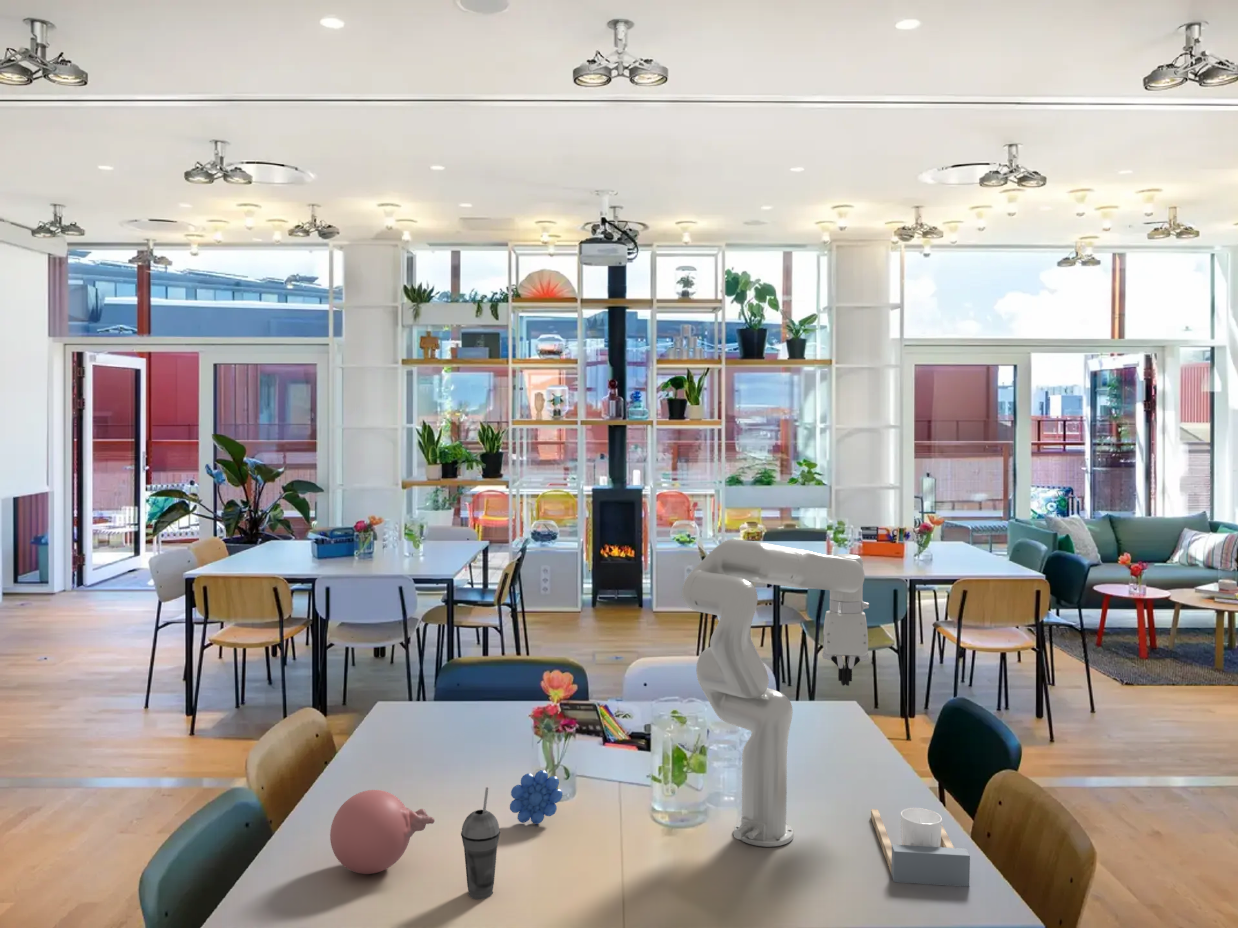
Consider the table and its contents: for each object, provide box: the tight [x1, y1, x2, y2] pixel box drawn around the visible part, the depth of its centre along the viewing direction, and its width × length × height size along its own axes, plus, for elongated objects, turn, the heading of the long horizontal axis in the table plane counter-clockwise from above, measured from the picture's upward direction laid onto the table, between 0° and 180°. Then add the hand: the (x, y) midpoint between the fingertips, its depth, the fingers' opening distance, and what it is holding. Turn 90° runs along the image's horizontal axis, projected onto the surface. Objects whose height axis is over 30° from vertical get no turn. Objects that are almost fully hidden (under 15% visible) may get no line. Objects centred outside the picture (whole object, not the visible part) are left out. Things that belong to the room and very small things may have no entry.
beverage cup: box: [460, 787, 501, 900], centre depth 174 cm, size 7×7×20 cm
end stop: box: [890, 843, 971, 887], centre depth 180 cm, size 3×14×6 cm, turn 83°
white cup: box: [900, 807, 943, 847], centre depth 186 cm, size 8×8×10 cm
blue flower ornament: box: [509, 769, 564, 825], centre depth 206 cm, size 12×7×12 cm, turn 89°
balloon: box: [329, 789, 435, 875], centre depth 183 cm, size 15×20×15 cm
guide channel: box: [870, 808, 955, 873], centre depth 195 cm, size 27×14×2 cm, turn 173°
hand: (844, 683), depth 220 cm, fingers closed
